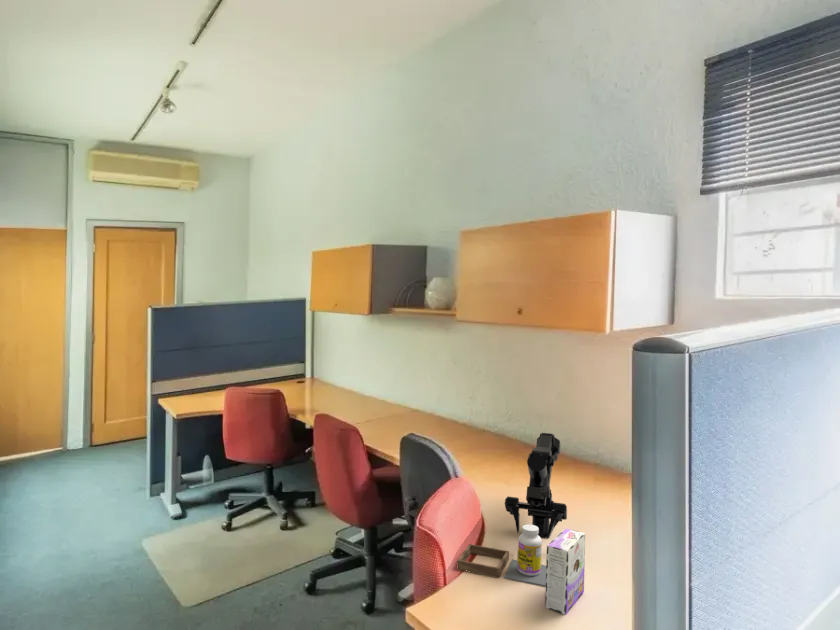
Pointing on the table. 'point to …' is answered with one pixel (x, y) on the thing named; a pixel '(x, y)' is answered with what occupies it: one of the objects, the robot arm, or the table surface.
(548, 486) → the robot arm
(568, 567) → the candy box
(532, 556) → the supplement bottle
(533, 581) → the mat
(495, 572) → the square frame
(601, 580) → the table surface
